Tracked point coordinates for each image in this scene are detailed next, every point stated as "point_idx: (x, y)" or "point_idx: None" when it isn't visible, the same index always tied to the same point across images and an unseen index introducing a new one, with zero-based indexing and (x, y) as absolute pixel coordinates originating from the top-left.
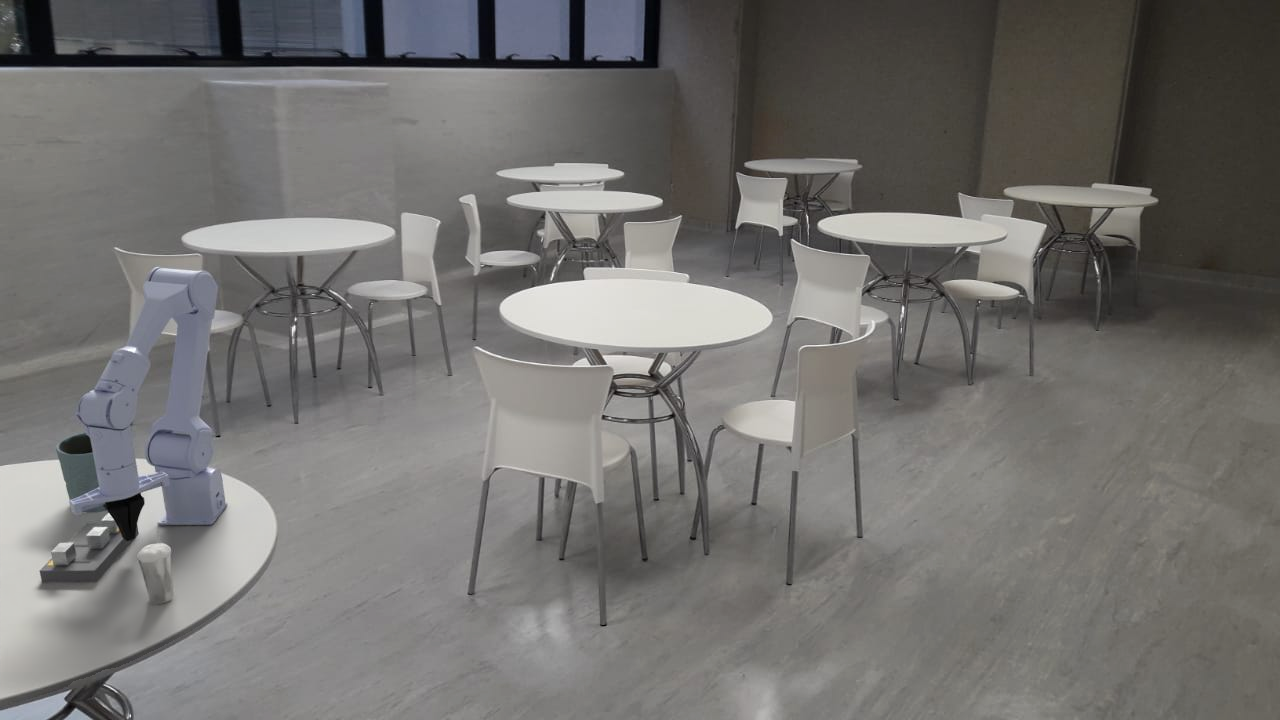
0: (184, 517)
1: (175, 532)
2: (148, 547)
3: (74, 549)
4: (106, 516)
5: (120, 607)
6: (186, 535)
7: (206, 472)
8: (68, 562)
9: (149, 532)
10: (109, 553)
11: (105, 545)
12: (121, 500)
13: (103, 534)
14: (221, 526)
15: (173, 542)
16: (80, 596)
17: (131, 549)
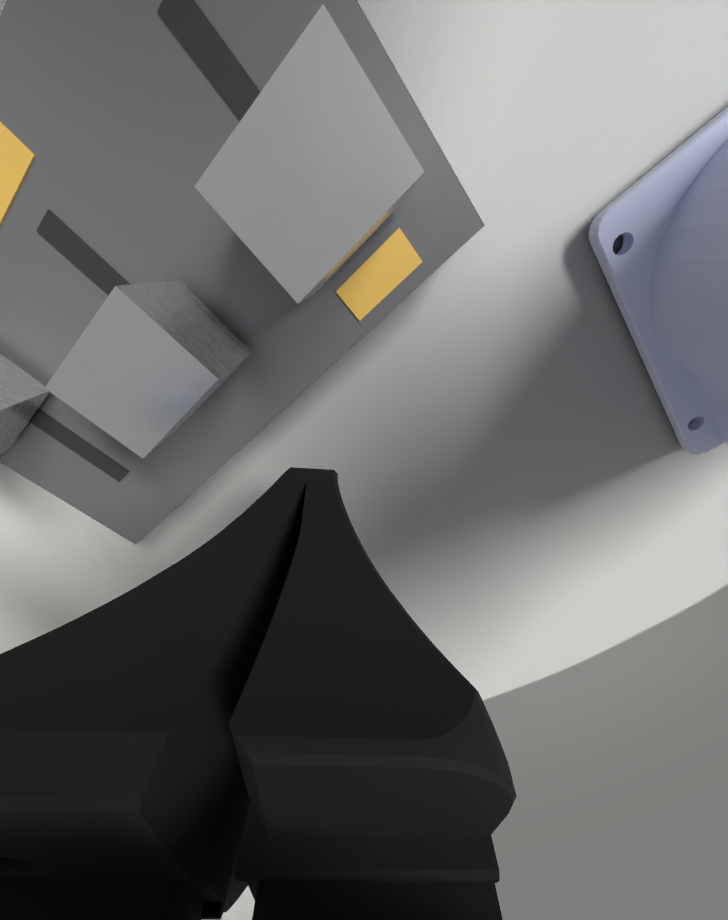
0: (688, 358)
1: (565, 382)
2: (235, 910)
3: (4, 410)
4: (264, 123)
5: None
6: (565, 443)
7: None
8: (5, 446)
9: (503, 272)
10: (216, 467)
11: None
12: (213, 895)
13: (180, 420)
14: (688, 479)
15: (494, 457)
16: (102, 548)
17: (349, 380)
